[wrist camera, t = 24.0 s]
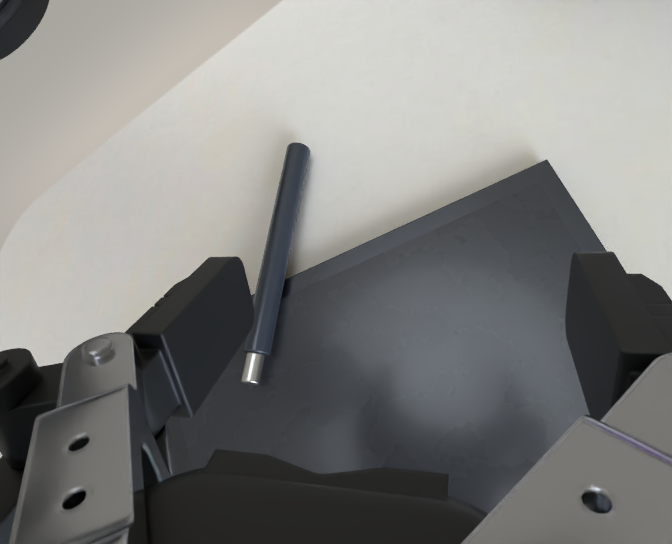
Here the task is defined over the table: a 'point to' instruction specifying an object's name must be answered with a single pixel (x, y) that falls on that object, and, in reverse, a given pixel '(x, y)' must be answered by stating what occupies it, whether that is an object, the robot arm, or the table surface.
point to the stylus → (275, 261)
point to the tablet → (419, 350)
